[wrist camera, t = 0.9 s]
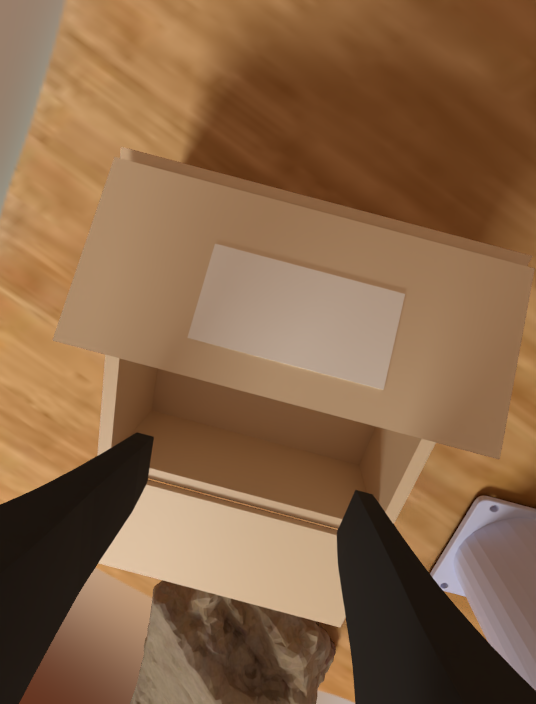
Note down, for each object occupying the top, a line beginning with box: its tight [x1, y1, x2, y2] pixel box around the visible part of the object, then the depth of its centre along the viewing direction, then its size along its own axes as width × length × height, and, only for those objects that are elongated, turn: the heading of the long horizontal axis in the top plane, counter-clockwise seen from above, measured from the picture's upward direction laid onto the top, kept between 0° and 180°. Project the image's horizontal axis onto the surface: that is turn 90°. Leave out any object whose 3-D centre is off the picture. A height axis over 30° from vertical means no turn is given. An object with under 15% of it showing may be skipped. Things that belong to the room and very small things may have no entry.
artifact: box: [130, 581, 336, 704], centre depth 22 cm, size 18×8×15 cm
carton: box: [98, 147, 532, 627], centre depth 16 cm, size 14×19×5 cm
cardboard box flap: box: [53, 157, 535, 459], centre depth 10 cm, size 14×6×1 cm, turn 76°
